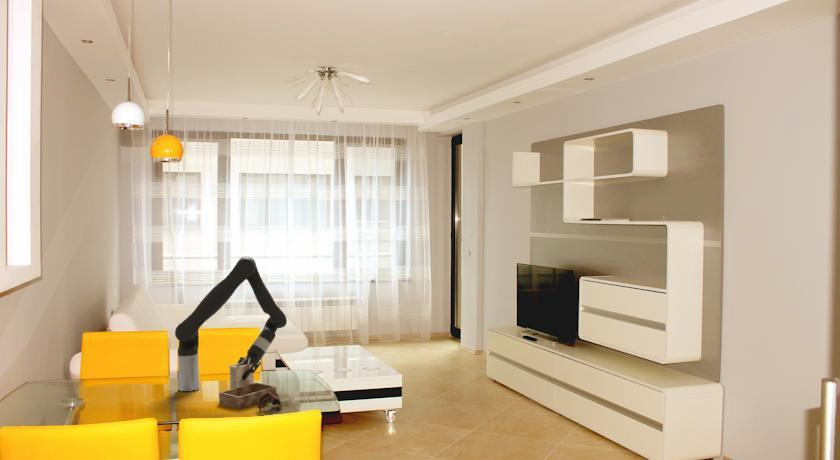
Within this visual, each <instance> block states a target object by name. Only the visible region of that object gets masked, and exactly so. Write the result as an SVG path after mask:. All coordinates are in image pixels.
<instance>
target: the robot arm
mask: <svg viewBox="0 0 840 460" xmlns="http://www.w3.org/2000/svg"><path fill="white" fill-rule="evenodd" d="M245 281H247V282H248V284H249V285H250V287H251V290H252V291H253V295H254V296H255V299H256V302H258V305H259V307H260V308H261V310H262V312H264V314H266V315H268V319H267V320H266V322H265V324H264V326H263V329H262V331H261V332H260V333H259V335H258V336H257V338H256V339H255V340H253V343H252V344H251V345H250V347H249V348H248V350H247V351H246V352H247V353H246V354H247V355H246V356H245V357H243V356H240V357H239V359H238V361H237V363H236V364H238V363H242V364H241V366H243V364H244V365H247V364H249V365H248V368H247V370H246V371H245V373H244V374H243V376H242V379H243V380H246V378H247V377H248V375H249V374H251V373H254V374H255V372H256V371H257V369H258V368H259V367H260V366H261V365H262V362H261V360H262V359H263V357H264V356H265V354H266V352H267V351H268V349H269V348H270V346H271V344H272V343H273V341H274V340H275V337H276V331H277V330H278V329H281V328H285V326H286V325H287V323H288V319H287V316H286V315H285V313H284V311H282V309H281V308H280V307H279V306H278V305H277V304H276V302H275V300H274V298H273V297H272V294H271V293H270V291H269V290H268V287H267V286H266V284H265V282H264V281H263V279H262V277H261V275H260V272H259V269H258V267H257V264H256V261H255V259H254V258H252V257H251V256H241V257H240V258H239V259H238V261H237V262H236V263H235V266H234V267H233V269H231V271H230V272H229V273H228V274H227V275H226V276H225V278H224V279H222V280H221V281H220V282H219V283H217V284H216V285H215V286H214V287H213V288H212V289H211V290H210V291H209V292H208V293H207V294H206V295H205V296H204V298H203V299H201V301H200V302H199V304H198V305H197V306H196V308H195V309H194V310H193V311H192V312H191V314H189V315H188V316H187V318H185V319H184V320H183V321H182V322H180V323H179V324H178V325H177V326H176V328H175V331H174V336H175V338H176V339H177V340H178V347H177V364H178V368H177V369H178V370H177V371H176V383H177V385H176V386H177V391H178V390H180V391H179V392H182V391H189V392H194V391H193V390H195V391H198V390H199V389H200V372H199V370H200V369H199V368H200V367H199V344H200V343H199V339H200V337H199V329H200V328H201V327H202V325H203V324H205V322H207V321H208V320H209V319H210V318H211V317H213V316H214V315H216V313H217V312H218V311H220V310H221V309H222V307H223V306H224V305H225V304H226V303H228V300H229V299H230V298H231V297H232V296H233V294H234V293H235V292H236V290H237V289H238V287H239V286H240V285H242V283H244V282H245ZM250 364H253V365H252V367H251V366H250ZM249 368H250V369H249ZM197 389H198V390H197Z"/></svg>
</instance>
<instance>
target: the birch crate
mask: <svg viewBox="0 0 840 460" xmlns="http://www.w3.org/2000/svg"><path fill="white" fill-rule="evenodd" d="M237 363H238V362H237ZM237 363H235V364H229V388H230V389H234V388H238V387H242V386H245V385H249V384H253V383H255V379H254V378H255V376H254V374H255V372H254V373H251V374H249V375H248V377H247V378H246V380H243V379H242V376H243V374H244V373H245V371H246V370H247V368H248V365H249V364H247V365H244V364H243V366H241V364H242V363H238V364H237ZM252 365H253V364H250V366H251V367H252ZM249 369H250V368H249ZM230 389H229V390H230Z"/></svg>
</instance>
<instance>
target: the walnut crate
mask: <svg viewBox="0 0 840 460" xmlns="http://www.w3.org/2000/svg"><path fill="white" fill-rule="evenodd" d="M269 392H271V393H273V392H276V393H277V394H278V391H277V386H274V385H270V384H269V385H268V384H264V383H259V382H254V383H253V384H249V385H245V386H242V387H238V388H234V389H227V390H223V391H220V392H218V399H219V403H218V404H219V405H223V406H225V407H230V408H234V409H239V410H240V409H244V408H245V409H246V408H248V407H250V406H251V407H252V406H254V405H258V404H257V401H259V399H260V398H261V397H262V396H263V395H264V394H266V393H269ZM265 399H266V398H265ZM265 399H264V400H265ZM259 402H260V401H259Z"/></svg>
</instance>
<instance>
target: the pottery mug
mask: <svg viewBox="0 0 840 460" xmlns="http://www.w3.org/2000/svg"><path fill="white" fill-rule="evenodd" d="M265 398H266V399H265ZM264 399H265V400H264ZM259 401H260V402H259ZM259 401H257V404H256V405H258V406H257V409H259V410H262V409H263V408H265V407H266V408H268V404H271V405H272V406H276V405H277V408H279V411H282V410H283V405H282V402H281V400H280V398H279V394H278V392H277V393H276V392H273V393H271V392H269V393H266V394H264V395H263V396H262V397H261V398H260V399H259Z"/></svg>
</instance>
